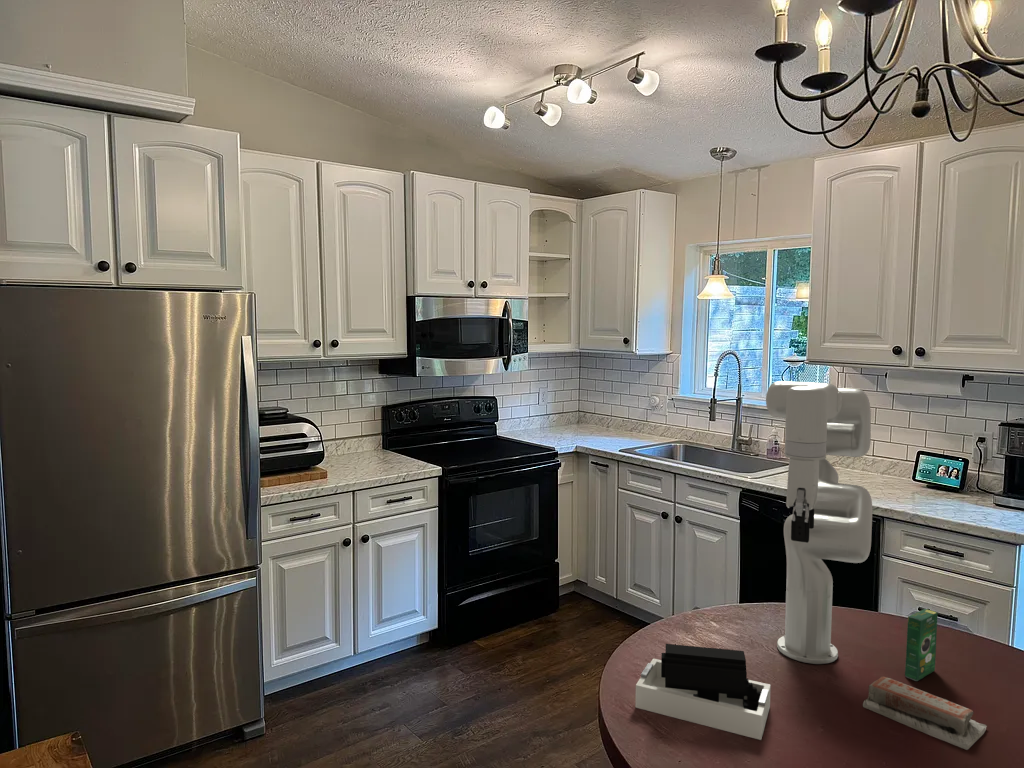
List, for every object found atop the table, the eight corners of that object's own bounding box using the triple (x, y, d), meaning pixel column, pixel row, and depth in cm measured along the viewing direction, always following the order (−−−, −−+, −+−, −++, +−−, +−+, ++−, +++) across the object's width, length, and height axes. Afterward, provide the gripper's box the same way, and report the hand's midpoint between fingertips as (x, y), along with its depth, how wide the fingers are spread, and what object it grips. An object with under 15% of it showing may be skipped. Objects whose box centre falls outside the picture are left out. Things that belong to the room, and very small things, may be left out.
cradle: (652, 679, 143) (653, 655, 142) (770, 707, 132) (770, 681, 132) (635, 707, 132) (635, 681, 132) (761, 740, 122) (762, 712, 121)
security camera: (763, 718, 127) (764, 666, 126) (660, 706, 131) (661, 656, 130) (758, 698, 133) (759, 648, 133) (660, 688, 137) (661, 639, 136)
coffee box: (921, 665, 148) (924, 606, 147) (936, 671, 146) (939, 611, 145) (903, 676, 144) (906, 616, 143) (918, 682, 141) (921, 620, 140)
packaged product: (862, 685, 132) (884, 668, 138) (861, 709, 132) (883, 692, 139) (969, 726, 118) (988, 706, 124) (968, 753, 118) (987, 732, 125)
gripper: (790, 440, 144) (787, 520, 146) (778, 455, 129) (776, 544, 131) (829, 443, 141) (826, 525, 142) (822, 459, 125) (819, 550, 127)
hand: (802, 534), depth 136 cm, fingers open, 9 cm apart
